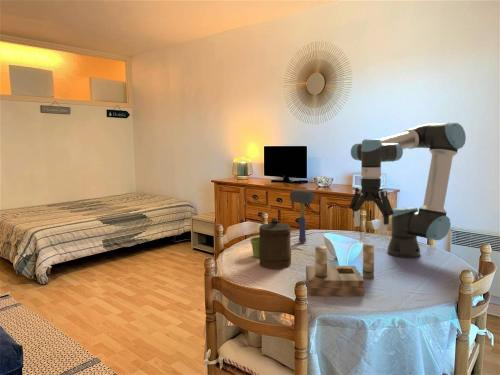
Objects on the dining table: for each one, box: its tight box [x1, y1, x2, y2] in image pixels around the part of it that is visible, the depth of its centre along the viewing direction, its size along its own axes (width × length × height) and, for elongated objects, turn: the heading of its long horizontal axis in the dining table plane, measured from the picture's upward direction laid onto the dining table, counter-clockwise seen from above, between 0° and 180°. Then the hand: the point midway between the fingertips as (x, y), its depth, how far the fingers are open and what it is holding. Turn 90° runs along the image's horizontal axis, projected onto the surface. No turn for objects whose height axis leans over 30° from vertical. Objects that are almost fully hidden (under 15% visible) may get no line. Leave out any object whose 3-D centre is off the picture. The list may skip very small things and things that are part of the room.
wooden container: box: [258, 217, 292, 270], centre depth 175 cm, size 15×15×22 cm
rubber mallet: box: [289, 189, 315, 244], centre depth 208 cm, size 12×8×30 cm, turn 53°
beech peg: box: [362, 243, 375, 280], centre depth 155 cm, size 5×5×14 cm
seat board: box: [305, 245, 365, 297], centre depth 145 cm, size 20×16×17 cm
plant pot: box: [249, 236, 260, 259], centre depth 188 cm, size 9×9×9 cm
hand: (370, 229), depth 153 cm, fingers open, 13 cm apart
